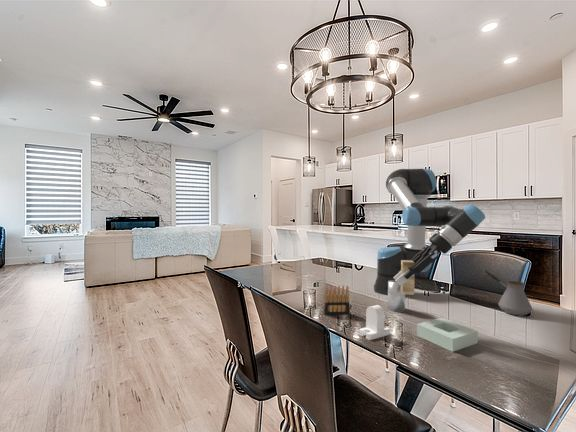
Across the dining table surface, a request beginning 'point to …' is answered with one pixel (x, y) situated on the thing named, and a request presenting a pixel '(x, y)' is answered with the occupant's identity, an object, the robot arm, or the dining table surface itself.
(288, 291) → the dining table surface
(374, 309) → the cable organizer
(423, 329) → the socket block
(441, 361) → the dining table surface
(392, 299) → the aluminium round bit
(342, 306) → the ammunition clip
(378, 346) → the dining table surface
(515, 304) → the coffee pot
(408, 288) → the oak square bit
